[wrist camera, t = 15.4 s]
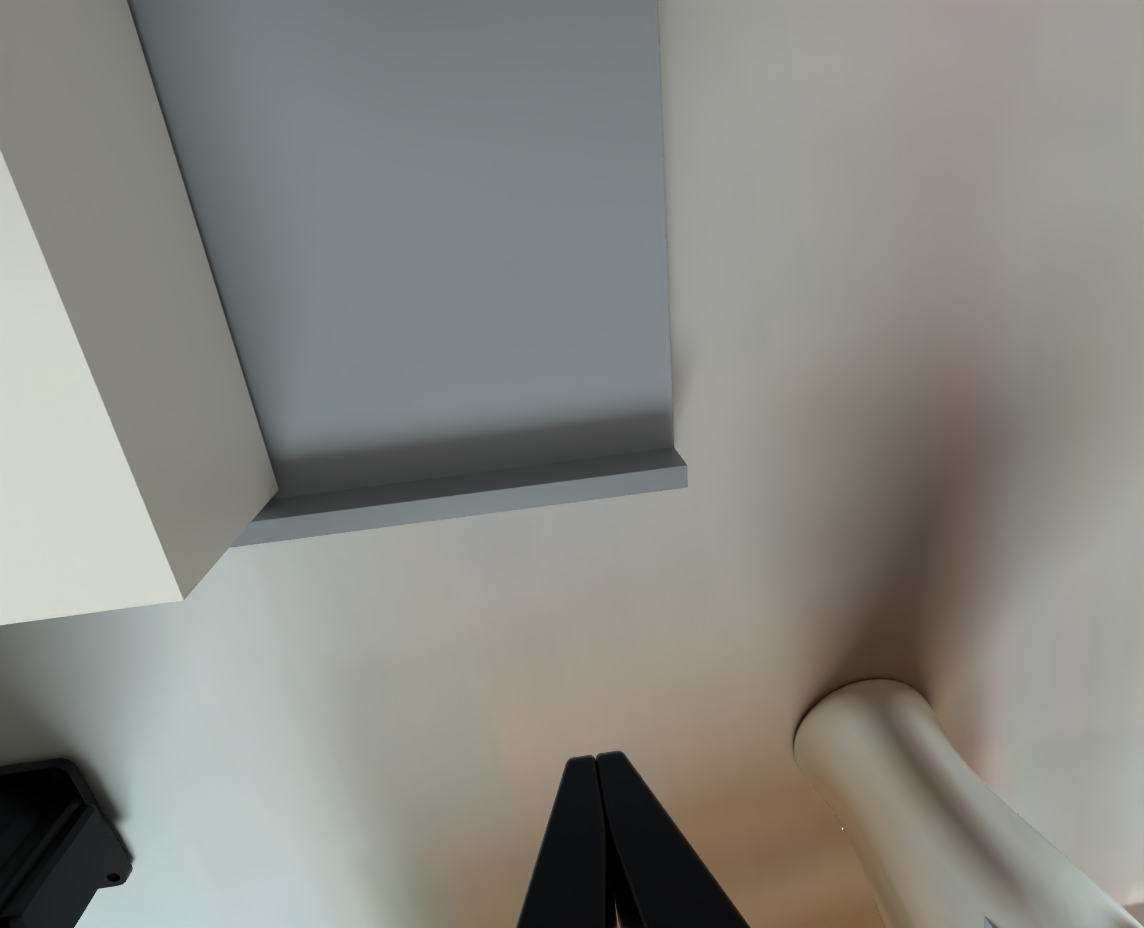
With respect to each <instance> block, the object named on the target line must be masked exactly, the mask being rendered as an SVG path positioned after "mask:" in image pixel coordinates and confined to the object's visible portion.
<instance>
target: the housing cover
mask: <svg viewBox="0 0 1144 928" xmlns="http://www.w3.org/2000/svg"><path fill="white" fill-rule="evenodd" d="M278 490H279V489H278V486H277V482H276V479H275V476H274V473H273V470H272V466H271V463H270V460H269V457H268V453H267V450H266V447H265V444H264V441H263V437H262V434H261V431H260V428H259V424H258V421H257V418H256V415H255V412H254V408H253V405H252V402H251V399H250V396H249V392H248V389H247V386H246V383H245V379H244V376H243V373H242V370H241V367H240V363H239V360H238V357H237V354H236V350H235V347H234V344H233V341H232V338H231V334H230V331H229V328H228V325H227V321H226V318H225V315H224V312H223V309H222V305H221V302H220V299H219V296H218V292H217V289H216V286H215V283H214V280H213V276H212V273H211V270H210V267H209V263H208V260H207V257H206V254H205V251H204V247H203V244H202V241H201V238H200V234H199V231H198V228H197V225H196V222H195V218H194V215H193V212H192V209H191V205H190V202H189V199H188V196H187V193H186V189H185V186H184V183H183V180H182V176H181V173H180V170H179V167H178V164H177V160H176V157H175V154H174V151H173V148H172V144H171V141H170V138H169V135H168V131H167V128H166V125H165V122H164V119H163V115H162V112H161V109H160V106H159V102H158V99H157V96H156V93H155V90H154V86H153V83H152V80H151V77H150V73H149V70H148V67H147V64H146V61H145V57H144V54H143V51H142V48H141V44H140V41H139V38H138V35H137V32H136V28H135V25H134V22H133V19H132V15H131V12H130V9H129V6H128V3H127V0H0V625H6V624H13V623H21V622H28V621H36V620H43V619H50V618H58V617H65V616H72V615H80V614H87V613H94V612H102V611H109V610H117V609H124V608H131V607H139V606H146V605H153V604H161V603H168V602H175V601H183V600H184V599H185V598H186V597H187V596H188V595H189V594H190V592H191V591H192V590H193V589H194V588H195V587H196V585H197V584H198V583H199V582H200V581H201V580H202V578H203V577H204V576H205V575H206V574H207V573H208V571H209V570H210V569H211V568H212V567H213V566H214V564H215V563H216V562H217V561H218V560H219V559H220V557H221V556H222V555H223V554H224V553H225V552H226V550H227V549H228V548H229V547H230V546H231V545H232V543H233V542H234V541H235V540H236V539H237V538H238V536H239V535H240V534H241V533H242V532H243V531H244V529H245V528H246V527H247V526H248V525H249V524H250V522H251V521H252V520H253V519H254V518H255V517H256V515H257V514H258V513H259V512H260V511H261V510H262V508H263V507H264V506H265V505H266V504H267V503H268V501H269V500H270V499H271V498H272V497H273V496H274V494H275V493H276V492H277V491H278Z"/></svg>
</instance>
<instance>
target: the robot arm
mask: <svg viewBox="0 0 1144 928" xmlns="http://www.w3.org/2000/svg"><path fill="white" fill-rule="evenodd" d="M132 869H133V868H132V865H131V863H130V861H129V859H128V858H127V856H126V854H125V852H124V850H123V849H122V847H121V845H120V843H119V841H118V840H117V838H116V836H115V834H114V832H113V831H112V829H111V827H110V825H109V823H108V822H107V820H106V818H105V816H104V814H103V813H102V811H101V809H100V807H99V805H98V804H97V802H96V800H95V798H94V796H93V795H92V793H91V791H90V789H89V787H88V786H87V784H86V782H85V780H84V778H83V777H82V775H81V773H80V771H79V769H78V768H77V766H76V765H75V764H74V763H73V762H71V761H70V760H67V759H51V760H45V761H38V762H31V763H24V764H17V765H11V766H4V767H0V928H74V927H75V925H76V924H77V922H78V920H79V919H80V917H81V916H82V914H83V912H84V911H85V909H86V907H87V906H88V904H89V903H90V901H91V899H92V898H93V896H94V894H95V893H96V891H97V890H98V889H99V888H106V887H112V886H118V885H121V884H123V883H125V882H126V880H127V879H128V877H129V875H130V873H131V872H132ZM615 904H616V908H615ZM616 910H617V915H618V921H619V925H620V928H750V926H749V925H748V923H747V922H746V921H745V919H744V918H743V917H742V915H741V914H740V912H739V911H738V910H737V908H736V907H735V906H734V904H733V903H732V901H731V900H730V899H729V897H728V896H727V895H726V893H725V892H724V890H723V889H722V888H721V886H720V885H719V883H718V882H717V881H716V879H715V878H714V877H713V875H712V874H711V872H710V871H709V870H708V868H707V867H706V866H705V864H704V863H703V861H702V860H701V859H700V857H699V856H698V855H697V853H696V852H695V850H694V849H693V848H692V846H691V845H690V844H689V842H688V841H687V839H686V838H685V837H684V835H683V834H682V832H681V831H680V830H679V828H678V827H677V826H676V824H675V823H674V821H673V820H672V819H671V817H670V816H669V815H668V813H667V812H666V810H665V809H664V808H663V806H662V805H661V804H660V802H659V801H658V799H657V798H656V797H655V795H654V794H653V793H652V791H651V790H650V788H649V787H648V786H647V784H646V783H645V782H644V780H643V779H642V777H641V776H640V775H639V773H638V772H637V770H636V769H635V768H634V766H633V765H632V764H631V762H630V761H629V759H628V758H627V757H626V755H625V754H624V753H623V752H621V751H612V752H606V753H600V754H598V755H597V756H596V761H595V758H594V756H592V755H586V756H580V757H573V758H570V759H569V760H568V761H567V763H566V765H565V769H564V772H563V775H562V779H561V782H560V785H559V788H558V792H557V795H556V798H555V801H554V805H553V808H552V811H551V815H550V818H549V821H548V824H547V828H546V831H545V834H544V837H543V841H542V844H541V847H540V851H539V854H538V857H537V860H536V864H535V867H534V870H533V873H532V877H531V880H530V883H529V886H528V890H527V893H526V896H525V900H524V903H523V906H522V909H521V913H520V916H519V919H518V922H517V926H516V928H617V917H616Z"/></svg>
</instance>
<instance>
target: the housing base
mask: <svg viewBox="0 0 1144 928" xmlns="http://www.w3.org/2000/svg"><path fill="white" fill-rule="evenodd" d="M127 3H128V6H129V9H130V12H131V15H132V19H133V22H134V25H135V28H136V32H137V35H138V38H139V41H140V44H141V48H142V51H143V54H144V57H145V61H146V64H147V67H148V70H149V73H150V77H151V80H152V83H153V86H154V90H155V93H156V96H157V99H158V102H159V106H160V109H161V112H162V115H163V119H164V122H165V125H166V128H167V131H168V135H169V138H170V141H171V144H172V148H173V151H174V154H175V157H176V160H177V164H178V167H179V170H180V173H181V176H182V180H183V183H184V186H185V189H186V193H187V196H188V199H189V202H190V205H191V209H192V212H193V215H194V218H195V222H196V225H197V228H198V231H199V234H200V238H201V241H202V244H203V247H204V251H205V254H206V257H207V260H208V263H209V267H210V270H211V273H212V276H213V280H214V283H215V286H216V289H217V292H218V296H219V299H220V302H221V305H222V309H223V312H224V315H225V318H226V321H227V325H228V328H229V331H230V334H231V338H232V341H233V344H234V347H235V350H236V354H237V357H238V360H239V363H240V367H241V370H242V373H243V376H244V379H245V383H246V386H247V389H248V392H249V396H250V399H251V402H252V405H253V408H254V412H255V415H256V418H257V421H258V424H259V428H260V431H261V434H262V437H263V441H264V444H265V447H266V450H267V453H268V457H269V460H270V463H271V466H272V470H273V473H274V476H275V479H276V482H277V486H278V489H279V490H278V491H277V492H276V493H275V494H274V496H273V497H272V498H271V499H270V500H269V501H268V503H267V504H266V505H265V506H264V507H263V508H262V510H261V511H260V512H259V513H258V514H257V515H256V517H255V518H254V519H253V520H252V521H251V522H250V524H249V525H248V526H247V527H246V528H245V529H244V531H243V532H242V533H241V534H240V535H239V536H238V538H237V539H236V540H235V541H234V542H233V543H232V545H231V546H230V547H237V546H245V545H253V544H260V543H268V542H275V541H283V540H291V539H298V538H306V537H313V536H321V535H328V534H336V533H344V532H351V531H359V530H366V529H374V528H382V527H389V526H397V525H404V524H412V523H420V522H427V521H435V520H442V519H450V518H457V517H465V516H473V515H480V514H488V513H495V512H503V511H511V510H518V509H526V508H533V507H541V506H549V505H556V504H564V503H571V502H579V501H586V500H594V499H602V498H609V497H617V496H624V495H632V494H640V493H647V492H655V491H662V490H670V489H677V488H685V487H688V479H687V465H686V463H685V462H684V460H683V459H682V458H681V456H680V455H679V454H678V452H677V451H676V450H675V448H674V431H673V404H672V376H671V349H670V322H669V295H668V268H667V241H666V214H665V187H664V160H663V133H662V106H661V79H660V52H659V25H658V0H127ZM230 547H229V548H230Z"/></svg>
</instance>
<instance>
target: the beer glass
mask: <svg viewBox="0 0 1144 928" xmlns="http://www.w3.org/2000/svg"><path fill="white" fill-rule="evenodd" d="M794 755H795V759H796V763H797V765H798V767H799V769H800V771H801V772H802V774H803V775H804V777H805V778H806V779H807V781H808V782H809V783H810V784H811V786H812V787H813V788H814V789H815V791H816V792H817V793H818V794H819V796H820V797H821V798H822V799H823V801H824V802H825V803H826V804H827V806H828V807H829V808H830V810H831V811H832V813H833V814H834V815H835V817H836V818H837V820H838V821H839V823H840V825H841V826H842V828H841V829H843V830H844V831H845V833H846V835H847V836H848V838H849V840H850V843H851V845H852V847H853V849H854V851H855V853H856V855H857V857H858V859H859V862H860V864H861V867H862V870H863V872H864V875H865V877H866V880H867V883H868V885H869V888H870V891H871V893H872V896H873V899H874V902H875V905H876V907H877V910H878V913H879V916H880V919H881V921H882V924H883V927H884V928H1144V927H1143V926H1142V925H1141V924H1140V923H1139V922H1138V921H1137V920H1135V919H1134V918H1133V917H1132V916H1131V915H1130V914H1129V913H1128V912H1127V911H1126V910H1125V909H1124V908H1123V907H1122V906H1121V905H1120V904H1119V903H1118V902H1117V901H1115V900H1114V899H1113V898H1112V897H1111V896H1110V895H1109V894H1108V893H1107V892H1106V891H1105V890H1104V889H1103V888H1102V887H1101V886H1100V885H1099V884H1097V883H1096V882H1095V881H1094V880H1093V879H1092V878H1091V877H1090V876H1088V875H1087V874H1086V873H1085V872H1084V871H1083V870H1082V869H1080V868H1079V867H1078V866H1077V865H1076V864H1075V863H1074V862H1072V861H1071V860H1070V859H1069V858H1068V857H1067V856H1066V855H1065V854H1063V853H1062V852H1061V851H1060V850H1059V849H1058V848H1057V847H1055V846H1054V845H1053V844H1052V843H1051V842H1050V841H1049V840H1047V839H1046V838H1045V837H1044V836H1043V835H1042V834H1040V833H1039V832H1038V831H1037V830H1036V829H1035V828H1034V827H1032V826H1031V825H1030V824H1029V823H1028V822H1027V821H1025V820H1024V819H1023V818H1022V817H1021V816H1020V815H1019V814H1017V813H1016V812H1015V811H1014V810H1013V809H1012V808H1011V807H1010V806H1008V805H1007V804H1006V803H1005V802H1004V801H1003V800H1002V799H1001V798H1000V797H998V796H997V795H996V794H995V793H994V792H993V791H992V790H991V789H990V788H989V787H988V786H987V785H986V784H985V783H984V782H983V781H982V780H981V779H980V778H979V777H978V776H977V775H976V774H975V773H974V772H973V771H972V770H971V768H970V767H969V766H968V765H967V763H966V762H965V761H964V760H963V758H962V757H961V756H960V754H959V753H958V751H957V750H956V748H955V747H954V745H953V744H952V742H951V741H950V739H949V737H948V735H947V734H946V732H945V730H944V729H943V727H942V725H941V723H940V722H939V720H938V718H937V716H936V715H935V713H934V711H933V710H932V708H931V707H930V705H929V704H928V702H927V701H926V700H925V698H924V697H923V696H922V695H921V694H920V693H919V692H918V691H916V690H915V689H914V688H912V687H911V686H909V685H907V684H904V683H902V682H898V681H894V680H888V679H872V680H865V681H860V682H856V683H852V684H849V685H847V686H844V687H842V688H840V689H838V690H836V691H834V692H832V693H830V694H829V695H827V696H826V697H824V698H823V699H822V700H821V701H819V702H818V703H817V704H816V705H815V706H814V707H813V708H812V709H811V710H810V711H809V712H808V713H807V715H806V716H805V717H804V719H803V720H802V722H801V724H800V726H799V728H798V730H797V733H796V736H795V740H794Z"/></svg>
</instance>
